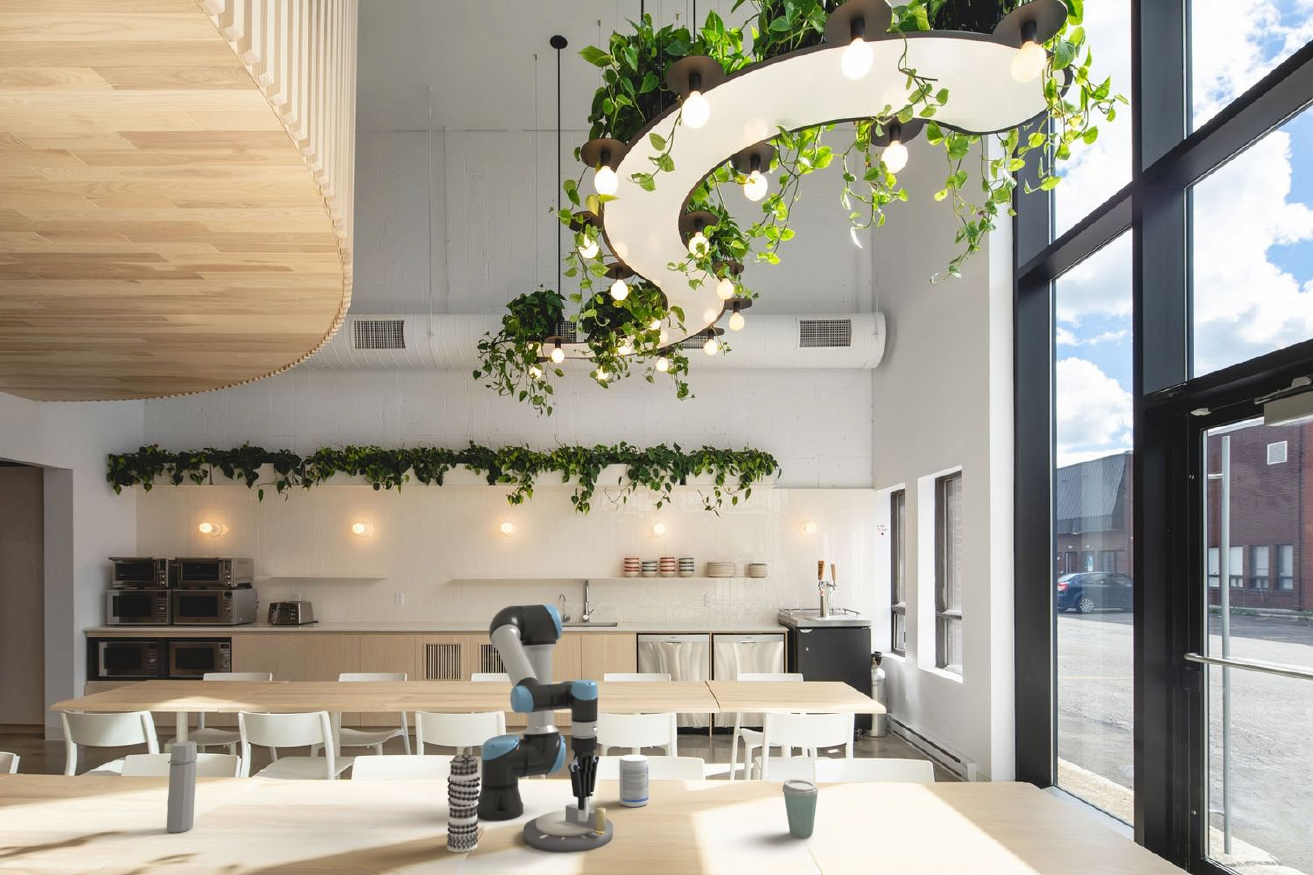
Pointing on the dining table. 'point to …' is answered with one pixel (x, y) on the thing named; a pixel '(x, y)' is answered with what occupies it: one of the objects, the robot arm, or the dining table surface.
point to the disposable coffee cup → (800, 806)
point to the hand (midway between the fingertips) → (583, 820)
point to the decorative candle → (463, 803)
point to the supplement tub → (634, 780)
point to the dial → (571, 822)
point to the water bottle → (182, 787)
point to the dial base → (566, 839)
